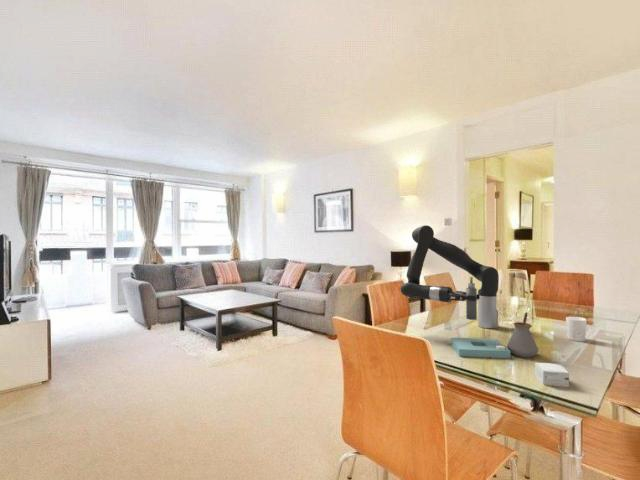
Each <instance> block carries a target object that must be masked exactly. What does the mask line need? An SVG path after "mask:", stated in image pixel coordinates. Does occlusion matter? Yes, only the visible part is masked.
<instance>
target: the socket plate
mask: <svg viewBox="0 0 640 480" xmlns="http://www.w3.org/2000/svg"><path fill="white" fill-rule="evenodd" d="M450 344H451V346H452V347H453V350H454V351H455V352H456V354H457V356H459V357H465V356H466V357H470V358H471V357H472V358H474V357H475V358H489V357H491V358H492V359H511V353H512V352H511V351H510V350H509V349H508V348H507V346H505V345H504V344H503V343H502V342H501V341H500V340H498V338H476V337H475V338H472V337H471V338H469V337H450ZM491 358H490V359H491Z"/></svg>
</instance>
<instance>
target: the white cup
mask: <svg viewBox="0 0 640 480" xmlns="http://www.w3.org/2000/svg"><path fill="white" fill-rule="evenodd" d="M565 323H566V324H565V325H566V326H565V327H566V334H567V339H568V340H570V341H575V342H585V341H586V335H587V324H588V323H587V319H586V318H584V317H579V316H566V317H565Z"/></svg>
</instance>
